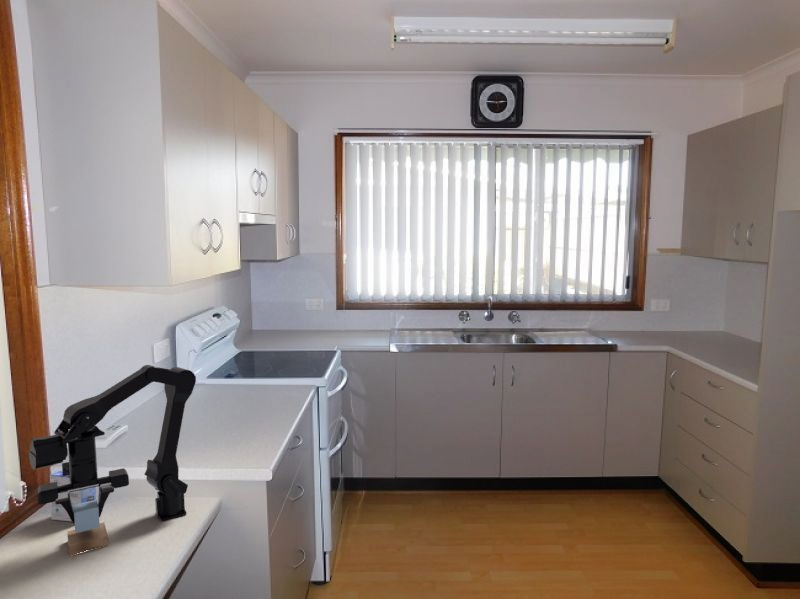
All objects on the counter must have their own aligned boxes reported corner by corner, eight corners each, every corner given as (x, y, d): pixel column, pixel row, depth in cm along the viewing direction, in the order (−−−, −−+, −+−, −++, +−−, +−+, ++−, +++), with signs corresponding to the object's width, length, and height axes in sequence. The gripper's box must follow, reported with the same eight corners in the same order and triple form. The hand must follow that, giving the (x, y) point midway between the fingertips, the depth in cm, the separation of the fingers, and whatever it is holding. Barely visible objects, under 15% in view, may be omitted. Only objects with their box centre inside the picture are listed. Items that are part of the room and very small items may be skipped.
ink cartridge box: (98, 513, 148) (95, 461, 147) (82, 523, 143) (79, 469, 142) (67, 510, 150) (64, 459, 149) (50, 520, 145) (47, 467, 144)
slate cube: (97, 519, 136) (96, 499, 135) (99, 527, 132) (98, 507, 131) (74, 524, 133) (73, 504, 133) (75, 533, 129) (74, 512, 128)
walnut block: (104, 533, 138) (104, 522, 138) (108, 547, 132) (107, 535, 131) (68, 543, 134) (67, 531, 134) (69, 557, 127) (68, 545, 127)
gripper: (122, 440, 143) (125, 497, 144) (36, 455, 133) (40, 517, 134) (127, 452, 133) (131, 514, 135) (35, 469, 123) (40, 536, 125)
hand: (86, 519), depth 132 cm, fingers closed on slate cube, 5 cm apart
